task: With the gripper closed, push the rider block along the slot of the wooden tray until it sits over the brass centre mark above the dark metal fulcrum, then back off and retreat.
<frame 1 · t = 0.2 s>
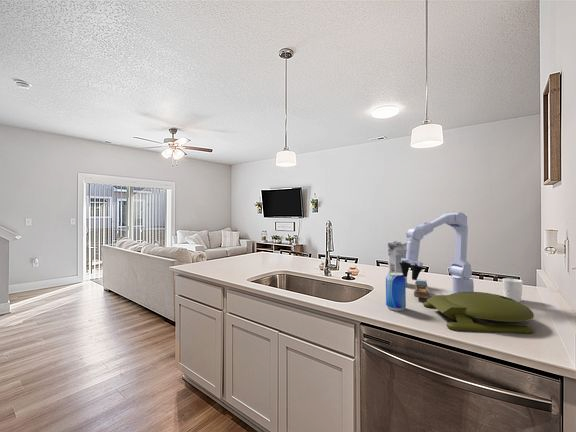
hand: (409, 278, 142), 10 cm above the worktop, tool pointing down, fingers open, 7 cm apart
rider: (421, 283, 152), point 5 cm above the worktop, slide at 0.0 cm
beer can: (395, 308, 128), on the worktop
white cup: (512, 300, 138), on the worktop
wooden tray: (421, 296, 147), on the worktop
juice carton: (397, 284, 174), on the worktop
spaceship: (478, 319, 115), on the worktop
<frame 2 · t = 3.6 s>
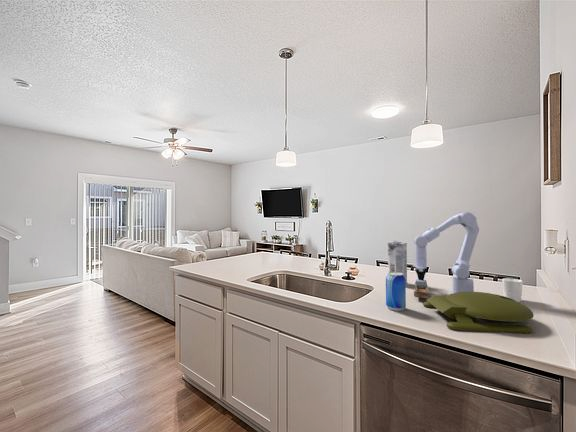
hand: (421, 282, 154), 5 cm above the worktop, tool pointing down, fingers closed
rider: (421, 283, 151), point 5 cm above the worktop, slide at 1.2 cm, touching gripper
everything else where it was.
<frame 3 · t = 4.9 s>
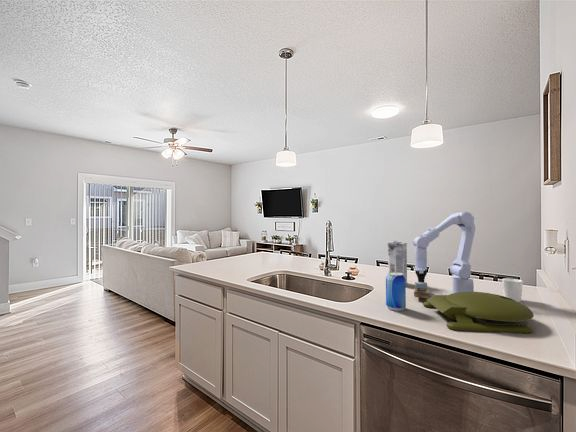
hand: (421, 284, 149), 5 cm above the worktop, tool pointing down, fingers closed
rider: (421, 286, 146), point 5 cm above the worktop, slide at 6.6 cm, touching gripper
everything else where it was.
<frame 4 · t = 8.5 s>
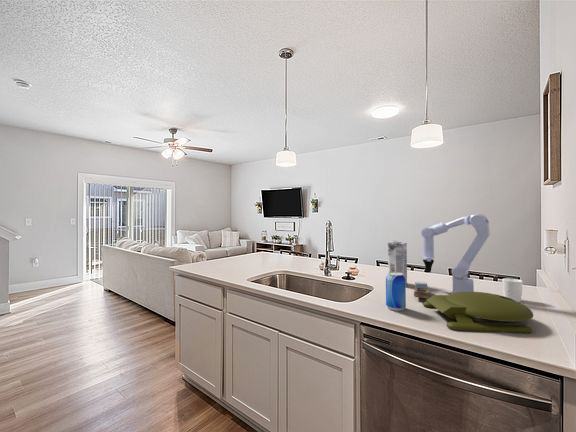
hand: (428, 272, 159), 10 cm above the worktop, tool pointing down, fingers closed
rider: (421, 286, 146), point 5 cm above the worktop, slide at 6.6 cm
everything else where it was.
at the end: rider slide at 6.6 cm; rider 0.1 cm off-centre on the wooden tray, point 5.2 cm above the wooden tray's base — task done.
